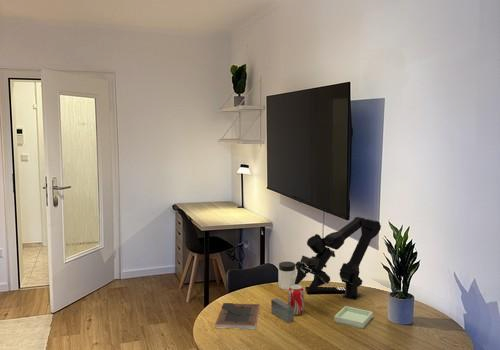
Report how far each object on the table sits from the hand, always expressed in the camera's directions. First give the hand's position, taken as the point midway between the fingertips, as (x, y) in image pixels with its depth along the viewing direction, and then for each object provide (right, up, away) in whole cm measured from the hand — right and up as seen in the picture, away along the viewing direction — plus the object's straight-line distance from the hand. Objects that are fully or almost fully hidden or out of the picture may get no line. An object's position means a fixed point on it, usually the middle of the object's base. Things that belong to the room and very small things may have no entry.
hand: (301, 287), depth 202 cm
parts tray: (+21, -11, -8) cm, 25 cm away
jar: (-4, -7, +30) cm, 31 cm away
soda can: (-2, -11, 0) cm, 11 cm away
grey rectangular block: (-9, -11, -4) cm, 15 cm away
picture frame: (-28, -13, -4) cm, 31 cm away
